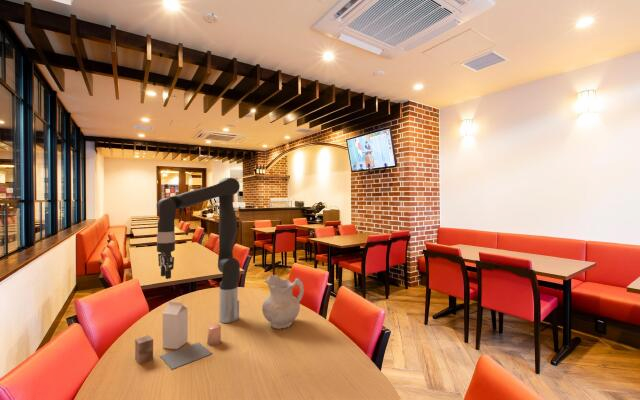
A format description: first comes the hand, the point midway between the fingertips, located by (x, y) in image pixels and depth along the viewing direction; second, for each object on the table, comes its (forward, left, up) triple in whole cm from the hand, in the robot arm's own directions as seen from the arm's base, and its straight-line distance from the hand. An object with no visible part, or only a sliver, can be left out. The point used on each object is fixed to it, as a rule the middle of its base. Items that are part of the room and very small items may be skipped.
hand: (165, 277), depth 138 cm
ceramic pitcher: (-47, +29, -28) cm, 62 cm away
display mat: (0, +24, -27) cm, 36 cm away
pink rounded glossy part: (-13, +22, -28) cm, 38 cm away
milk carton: (0, +12, -28) cm, 30 cm away
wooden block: (+13, +15, -28) cm, 34 cm away
